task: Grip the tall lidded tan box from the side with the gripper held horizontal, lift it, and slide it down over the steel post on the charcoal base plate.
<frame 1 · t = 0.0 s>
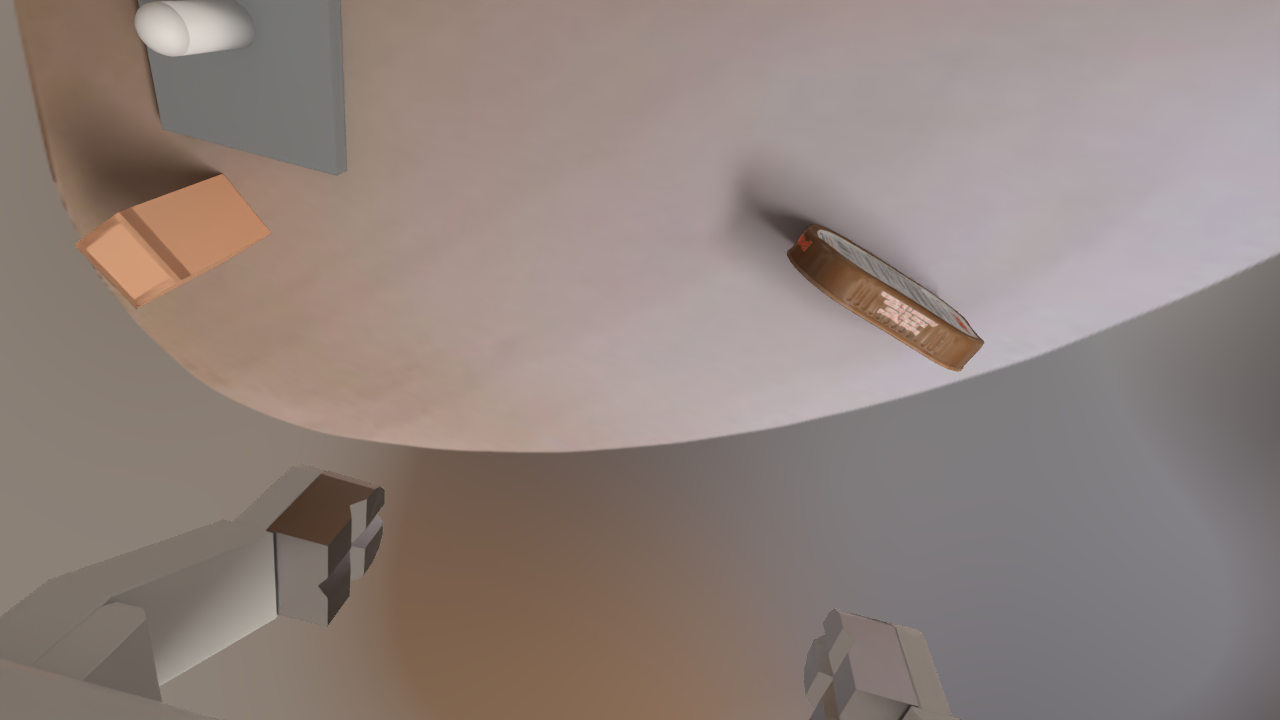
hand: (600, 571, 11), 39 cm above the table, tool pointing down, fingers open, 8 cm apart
tall lidded tan box: (226, 218, 53), on the table
tin: (875, 271, 48), on the table
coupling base: (248, 22, 45), on the table
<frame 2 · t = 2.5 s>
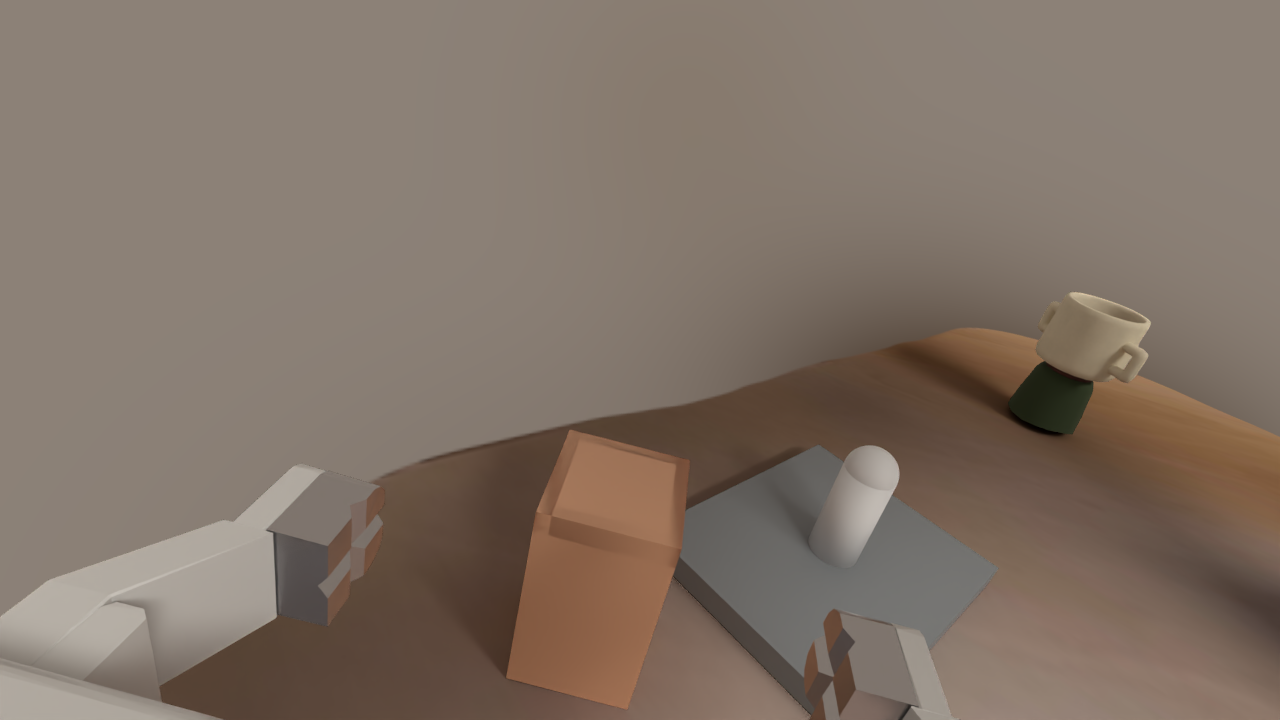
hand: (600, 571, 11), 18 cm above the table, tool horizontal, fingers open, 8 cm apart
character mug: (1036, 423, 64), on the table
tall lidded tan box: (579, 640, 30), on the table
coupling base: (823, 566, 39), on the table
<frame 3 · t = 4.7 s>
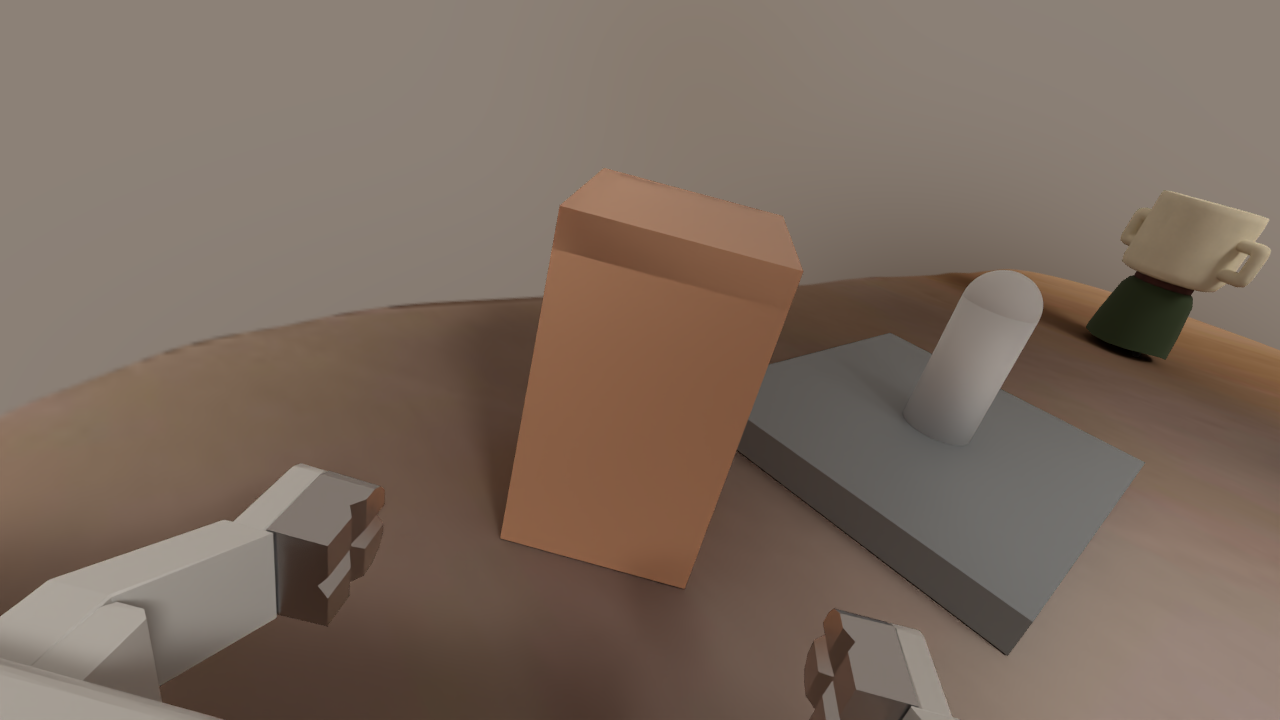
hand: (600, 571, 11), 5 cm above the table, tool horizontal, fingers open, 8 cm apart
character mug: (1119, 350, 55), on the table
tall lidded tan box: (608, 503, 21), on the table
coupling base: (921, 451, 29), on the table
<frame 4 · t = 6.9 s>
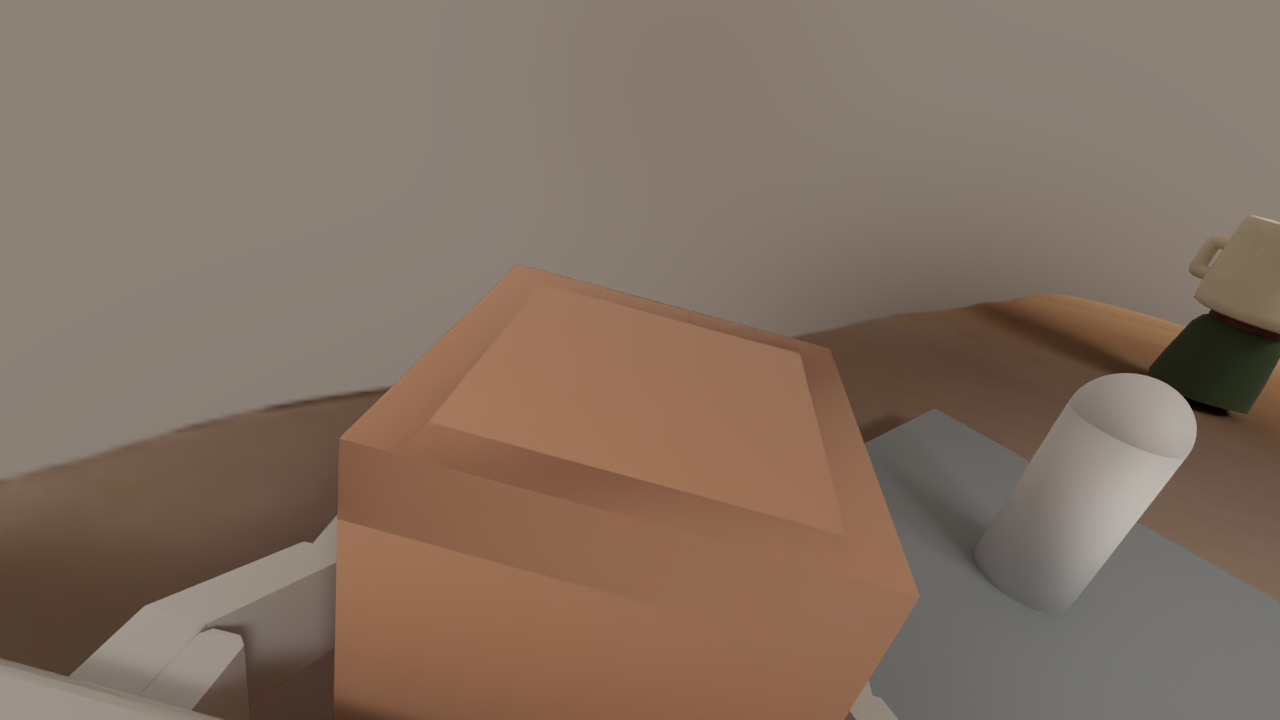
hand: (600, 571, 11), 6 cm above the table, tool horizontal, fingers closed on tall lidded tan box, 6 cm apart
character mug: (1188, 400, 47), on the table
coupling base: (998, 607, 21), on the table
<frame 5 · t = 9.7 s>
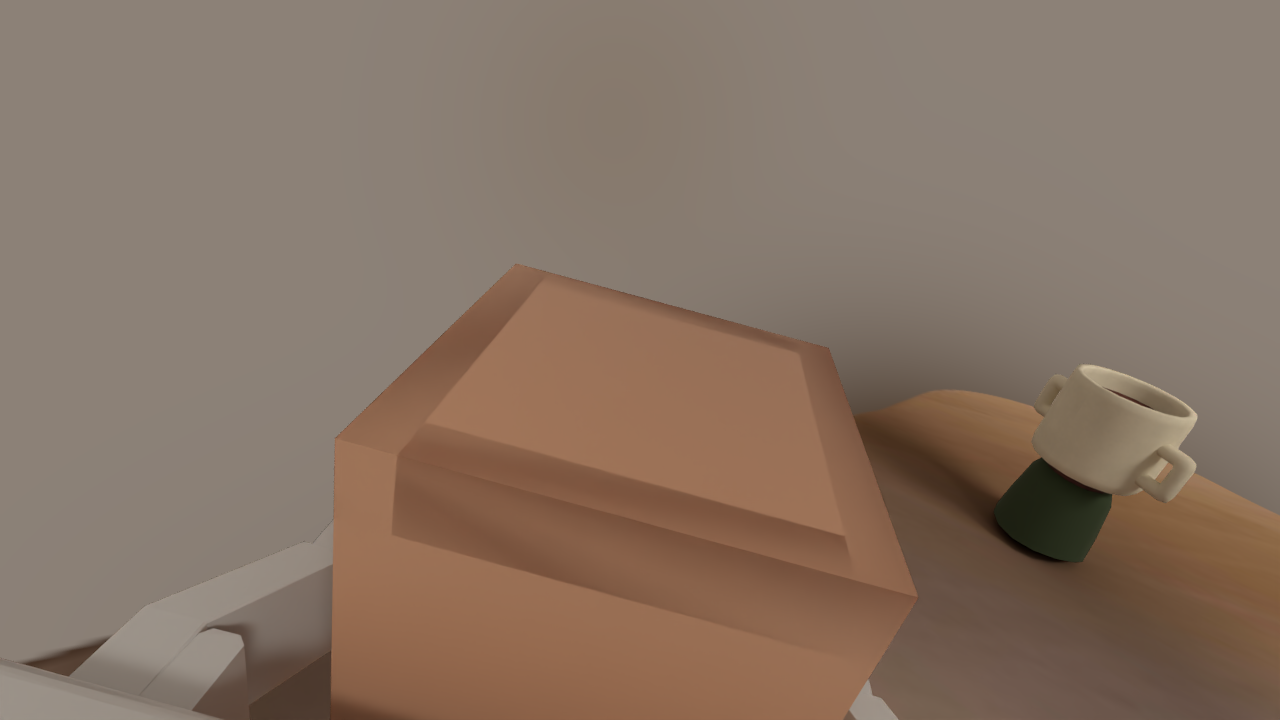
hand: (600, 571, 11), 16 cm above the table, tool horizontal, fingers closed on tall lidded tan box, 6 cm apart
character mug: (1031, 540, 46), on the table
when the fingers open (8 cm above the table, at t = 12.8 s): tall lidded tan box moves 1 cm, resting on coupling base.
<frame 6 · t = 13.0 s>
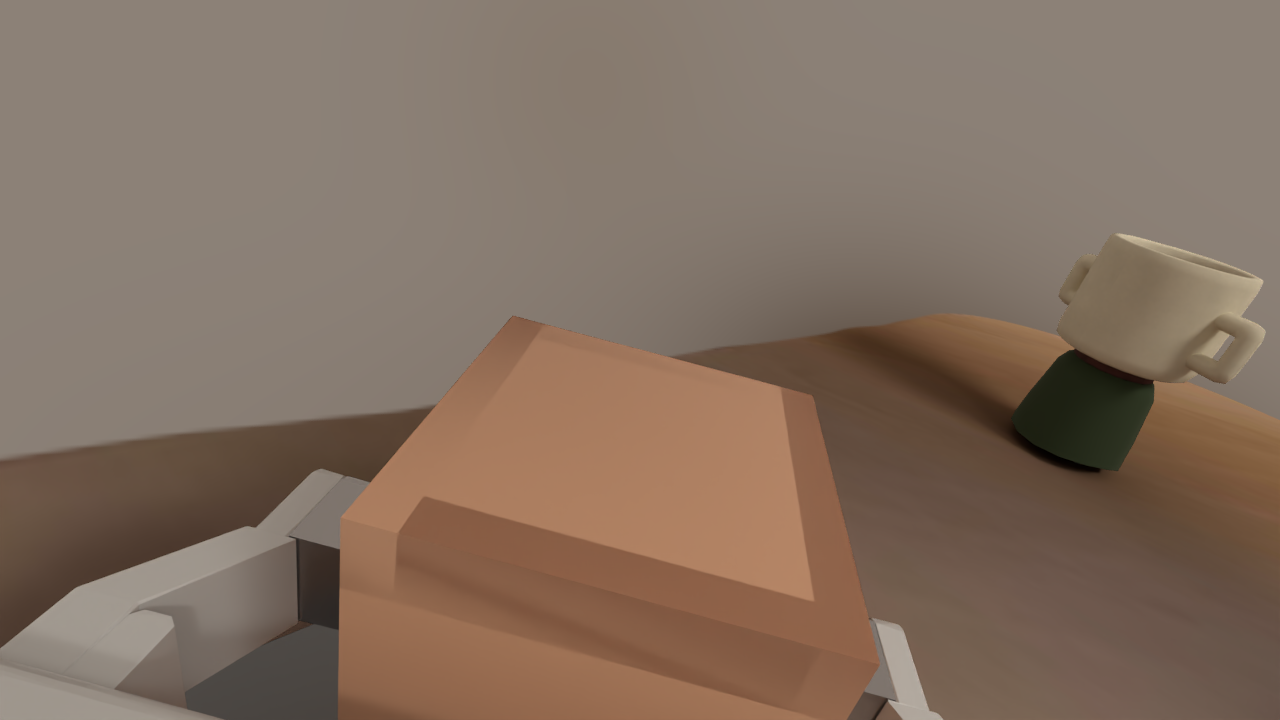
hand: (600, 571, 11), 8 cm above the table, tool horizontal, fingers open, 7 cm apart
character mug: (1056, 451, 39), on the table
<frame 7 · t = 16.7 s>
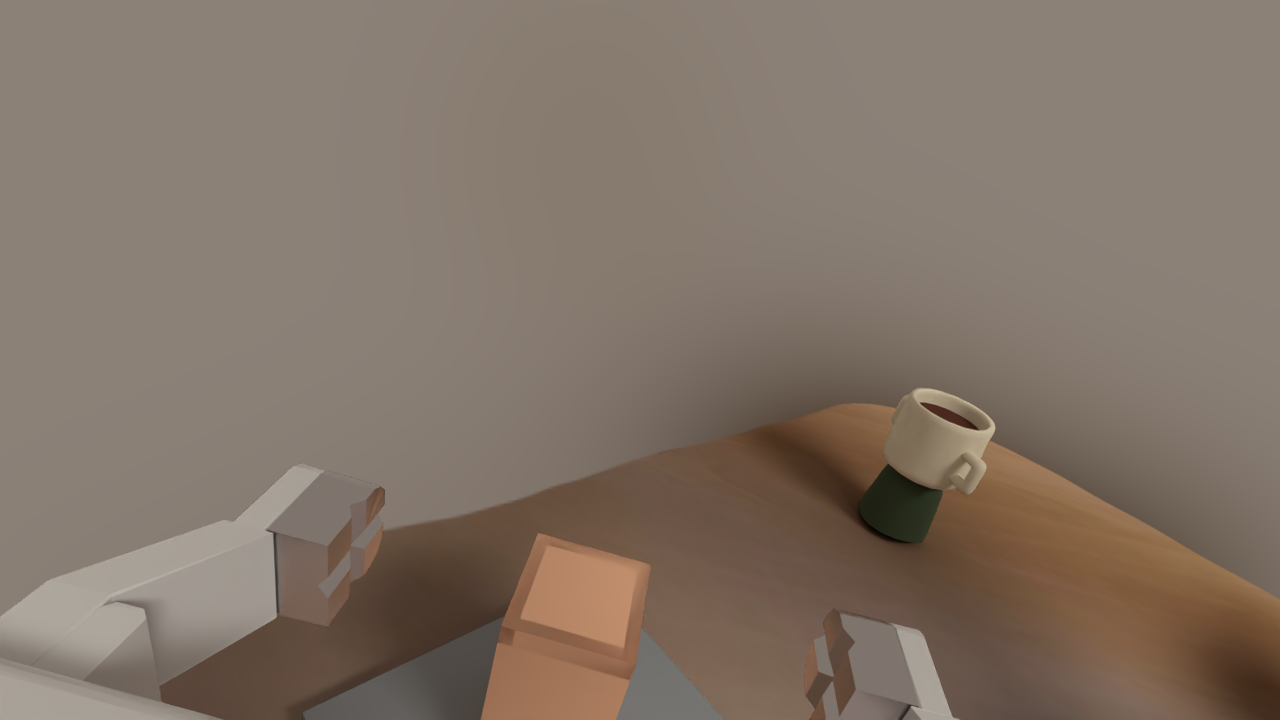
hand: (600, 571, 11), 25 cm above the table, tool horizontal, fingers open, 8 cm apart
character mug: (887, 526, 58), on the table
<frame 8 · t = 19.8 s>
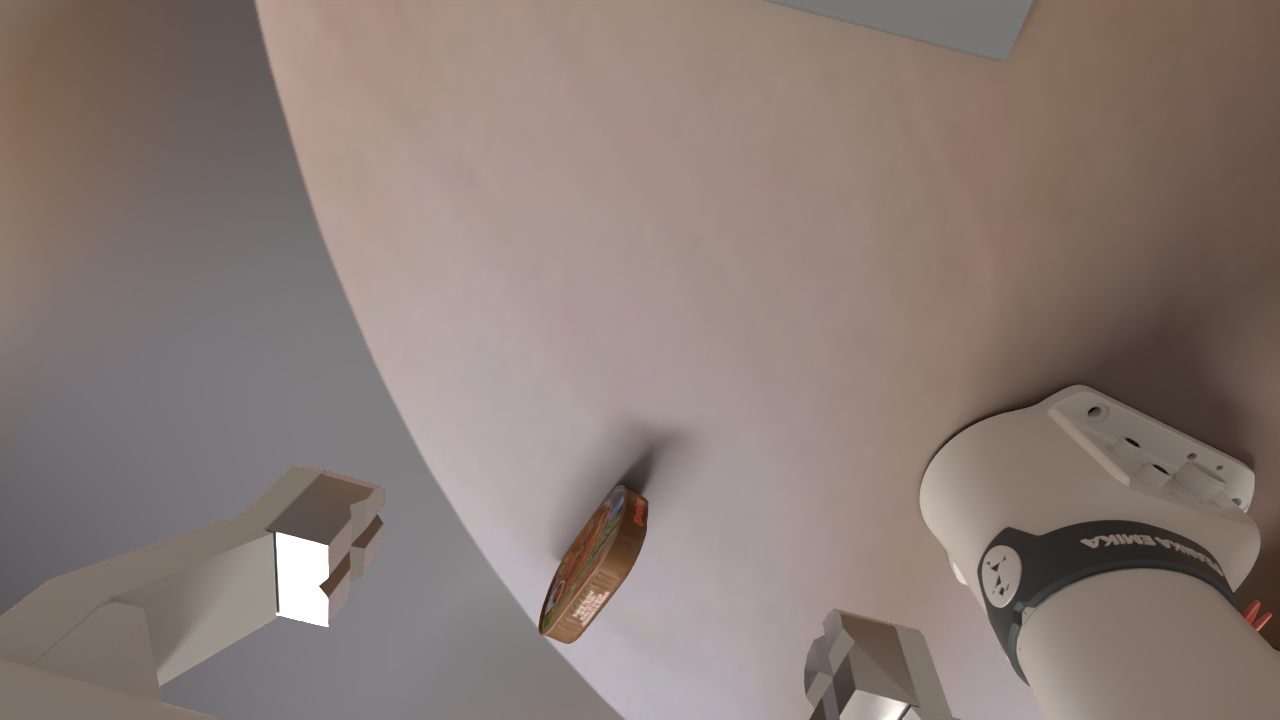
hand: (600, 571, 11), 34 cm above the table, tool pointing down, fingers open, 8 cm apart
tin: (602, 530, 55), on the table
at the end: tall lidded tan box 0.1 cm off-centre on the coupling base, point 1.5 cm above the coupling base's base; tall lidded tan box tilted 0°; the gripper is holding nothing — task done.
